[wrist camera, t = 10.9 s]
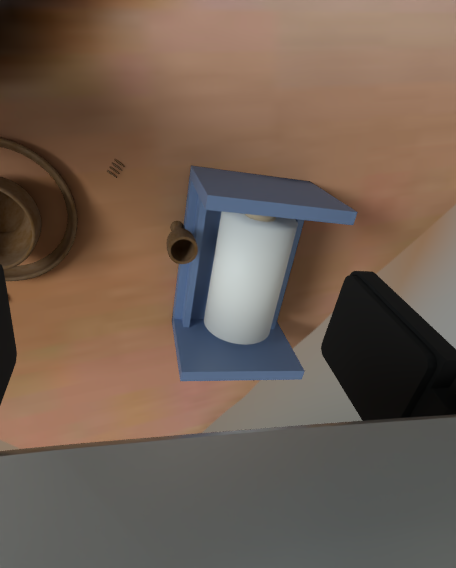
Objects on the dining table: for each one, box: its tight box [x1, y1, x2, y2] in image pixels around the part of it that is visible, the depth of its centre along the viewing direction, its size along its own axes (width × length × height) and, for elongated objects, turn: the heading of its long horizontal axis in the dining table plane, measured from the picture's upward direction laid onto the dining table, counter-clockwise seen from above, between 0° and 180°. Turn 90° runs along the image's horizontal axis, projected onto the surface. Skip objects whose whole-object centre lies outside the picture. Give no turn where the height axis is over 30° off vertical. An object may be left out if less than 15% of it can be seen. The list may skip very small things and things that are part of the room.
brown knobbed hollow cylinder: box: [0, 138, 198, 281], centre depth 31 cm, size 18×20×6 cm
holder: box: [172, 166, 357, 381], centre depth 34 cm, size 16×11×9 cm
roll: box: [204, 212, 298, 345], centre depth 34 cm, size 12×6×6 cm, turn 170°
